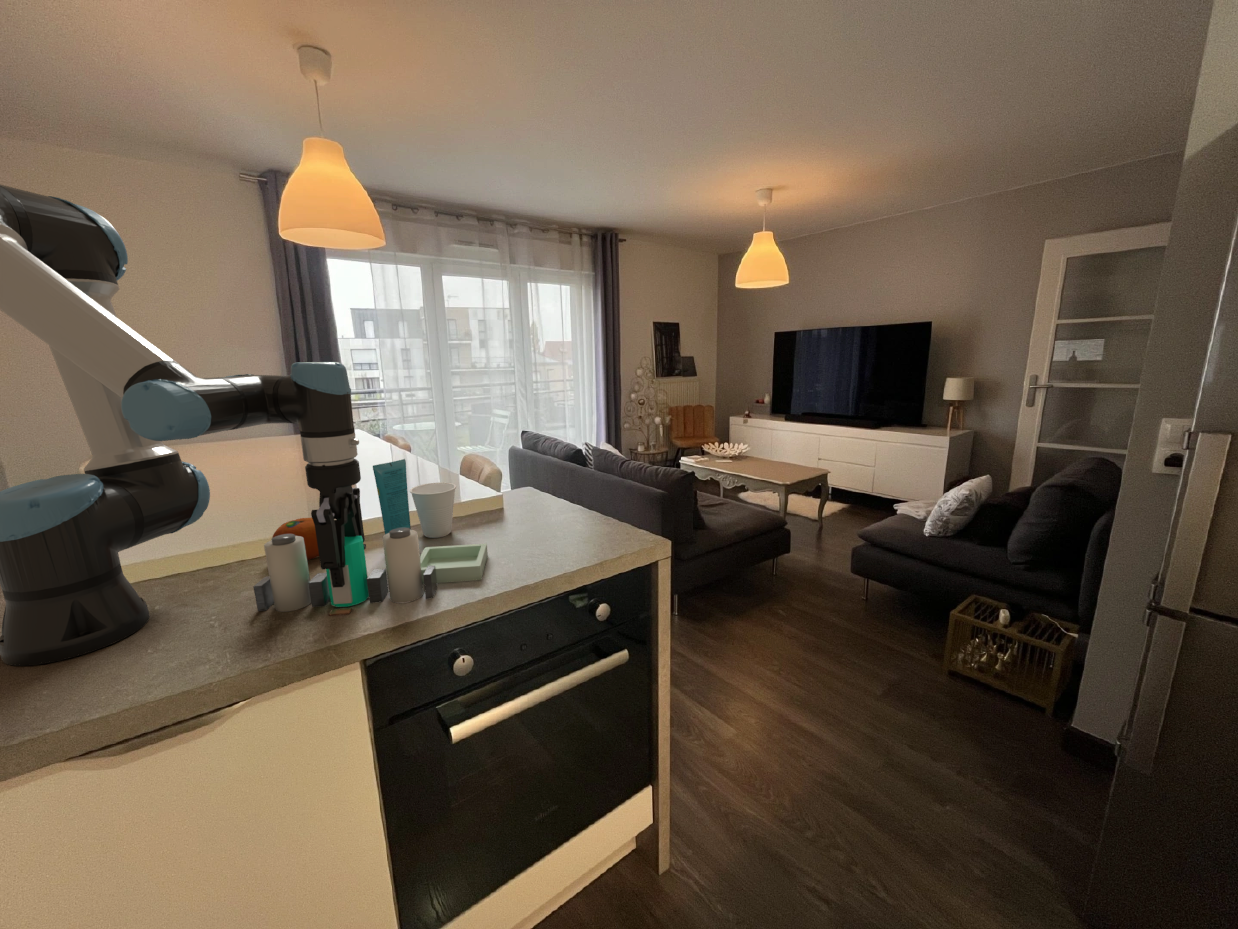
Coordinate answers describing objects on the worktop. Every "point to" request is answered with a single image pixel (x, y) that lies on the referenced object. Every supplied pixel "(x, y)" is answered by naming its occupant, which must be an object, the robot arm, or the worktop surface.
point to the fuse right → (403, 565)
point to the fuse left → (288, 572)
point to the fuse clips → (322, 596)
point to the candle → (354, 571)
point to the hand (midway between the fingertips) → (349, 594)
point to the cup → (434, 507)
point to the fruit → (302, 534)
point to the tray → (455, 562)
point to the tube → (393, 494)
